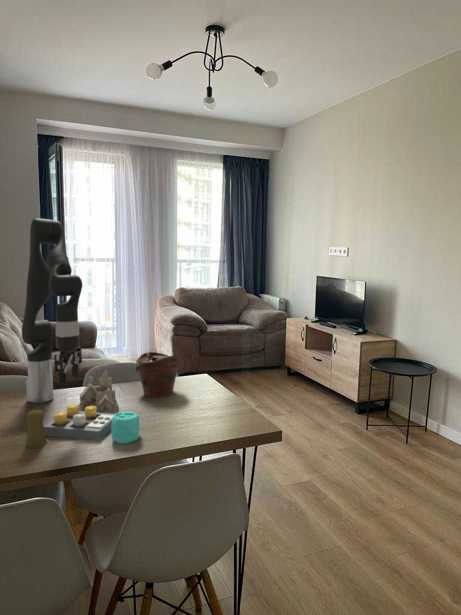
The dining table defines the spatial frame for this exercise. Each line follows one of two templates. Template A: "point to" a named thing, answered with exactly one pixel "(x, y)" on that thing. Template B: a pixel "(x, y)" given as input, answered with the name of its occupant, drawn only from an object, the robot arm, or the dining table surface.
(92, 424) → the button board
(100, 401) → the ceramic cottage
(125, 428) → the decorative dice
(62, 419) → the amber button
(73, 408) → the amber button
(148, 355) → the brown tapered round container
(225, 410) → the dining table surface
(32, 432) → the olive rounded cylinder
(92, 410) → the amber button
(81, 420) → the white button
